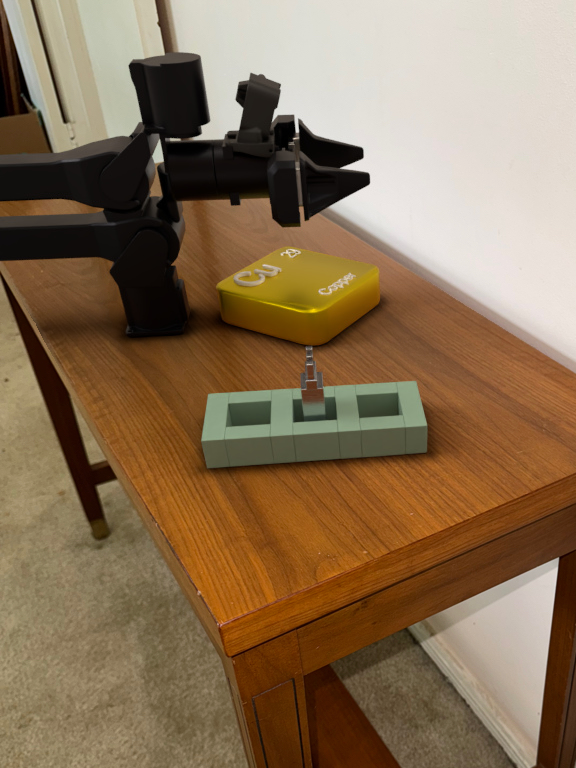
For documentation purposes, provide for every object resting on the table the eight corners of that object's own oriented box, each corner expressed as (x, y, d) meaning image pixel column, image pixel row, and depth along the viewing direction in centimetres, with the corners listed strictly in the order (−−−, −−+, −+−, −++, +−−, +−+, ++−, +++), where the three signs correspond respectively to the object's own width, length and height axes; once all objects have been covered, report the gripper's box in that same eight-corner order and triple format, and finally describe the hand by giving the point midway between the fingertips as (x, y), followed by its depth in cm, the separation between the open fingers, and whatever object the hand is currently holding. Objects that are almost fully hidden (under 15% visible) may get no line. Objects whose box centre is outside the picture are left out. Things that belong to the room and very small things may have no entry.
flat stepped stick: (306, 447, 71) (297, 365, 65) (306, 426, 74) (297, 346, 68) (328, 446, 71) (321, 364, 65) (326, 425, 74) (320, 344, 68)
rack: (207, 468, 68) (201, 440, 67) (213, 420, 74) (208, 393, 72) (426, 453, 70) (427, 425, 68) (416, 406, 76) (416, 380, 74)
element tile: (318, 350, 85) (315, 309, 82) (214, 321, 90) (207, 282, 87) (386, 300, 95) (385, 261, 92) (288, 276, 100) (284, 239, 97)
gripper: (196, 104, 67) (371, 100, 69) (212, 63, 81) (357, 60, 83) (216, 232, 75) (374, 225, 76) (228, 174, 89) (361, 169, 90)
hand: (366, 165), depth 81 cm, fingers open, 9 cm apart
